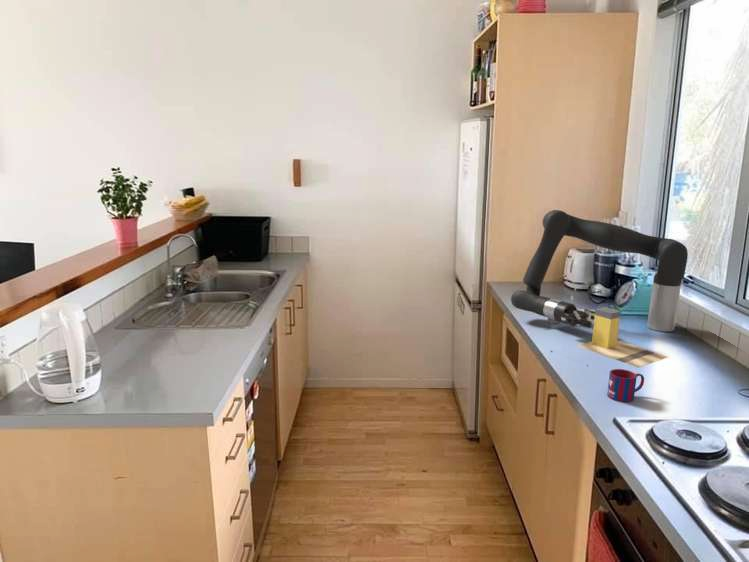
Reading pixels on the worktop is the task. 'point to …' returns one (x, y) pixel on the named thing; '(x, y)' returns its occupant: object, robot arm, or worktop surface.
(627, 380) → the mug
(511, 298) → the robot arm
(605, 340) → the yellow spice tin
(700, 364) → the worktop surface
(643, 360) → the plywood panel
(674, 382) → the worktop surface
